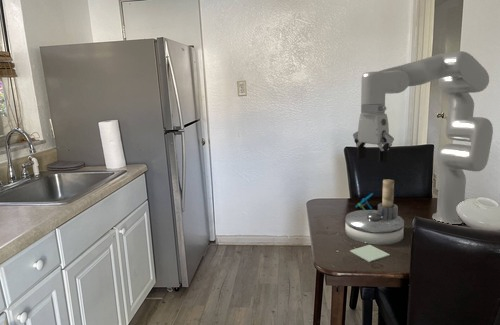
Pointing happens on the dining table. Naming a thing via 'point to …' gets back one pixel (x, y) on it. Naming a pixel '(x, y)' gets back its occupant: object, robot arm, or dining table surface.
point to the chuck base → (374, 236)
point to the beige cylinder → (388, 193)
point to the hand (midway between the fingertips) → (371, 160)
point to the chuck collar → (376, 220)
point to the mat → (369, 253)
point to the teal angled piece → (364, 202)
